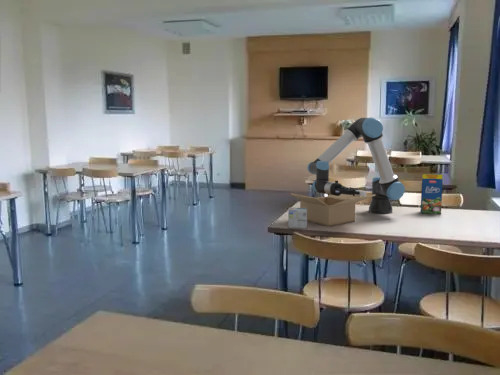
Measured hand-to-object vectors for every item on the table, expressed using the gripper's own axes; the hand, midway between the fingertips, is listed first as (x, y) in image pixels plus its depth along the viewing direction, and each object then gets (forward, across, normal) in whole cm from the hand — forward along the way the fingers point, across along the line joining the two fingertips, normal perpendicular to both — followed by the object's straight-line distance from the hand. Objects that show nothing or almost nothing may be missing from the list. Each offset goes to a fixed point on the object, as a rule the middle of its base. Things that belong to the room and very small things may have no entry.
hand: (365, 193), depth 270 cm
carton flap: (-9, 0, -5) cm, 10 cm away
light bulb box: (-27, +25, -20) cm, 42 cm away
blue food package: (-5, -70, -20) cm, 73 cm away
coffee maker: (-60, -38, -20) cm, 74 cm away
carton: (-29, 0, -20) cm, 35 cm away
